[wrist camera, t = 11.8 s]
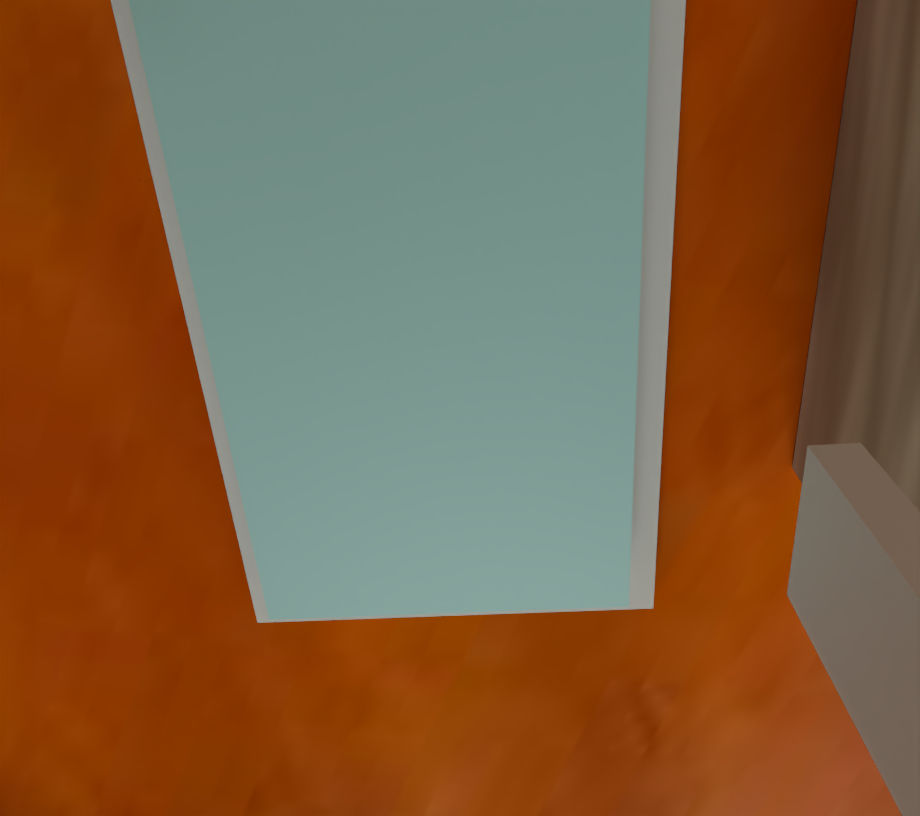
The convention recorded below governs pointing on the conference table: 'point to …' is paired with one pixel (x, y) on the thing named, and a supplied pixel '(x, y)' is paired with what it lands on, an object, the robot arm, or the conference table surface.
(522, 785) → the conference table surface
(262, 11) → the lid
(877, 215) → the box
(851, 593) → the robot arm
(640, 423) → the mat
